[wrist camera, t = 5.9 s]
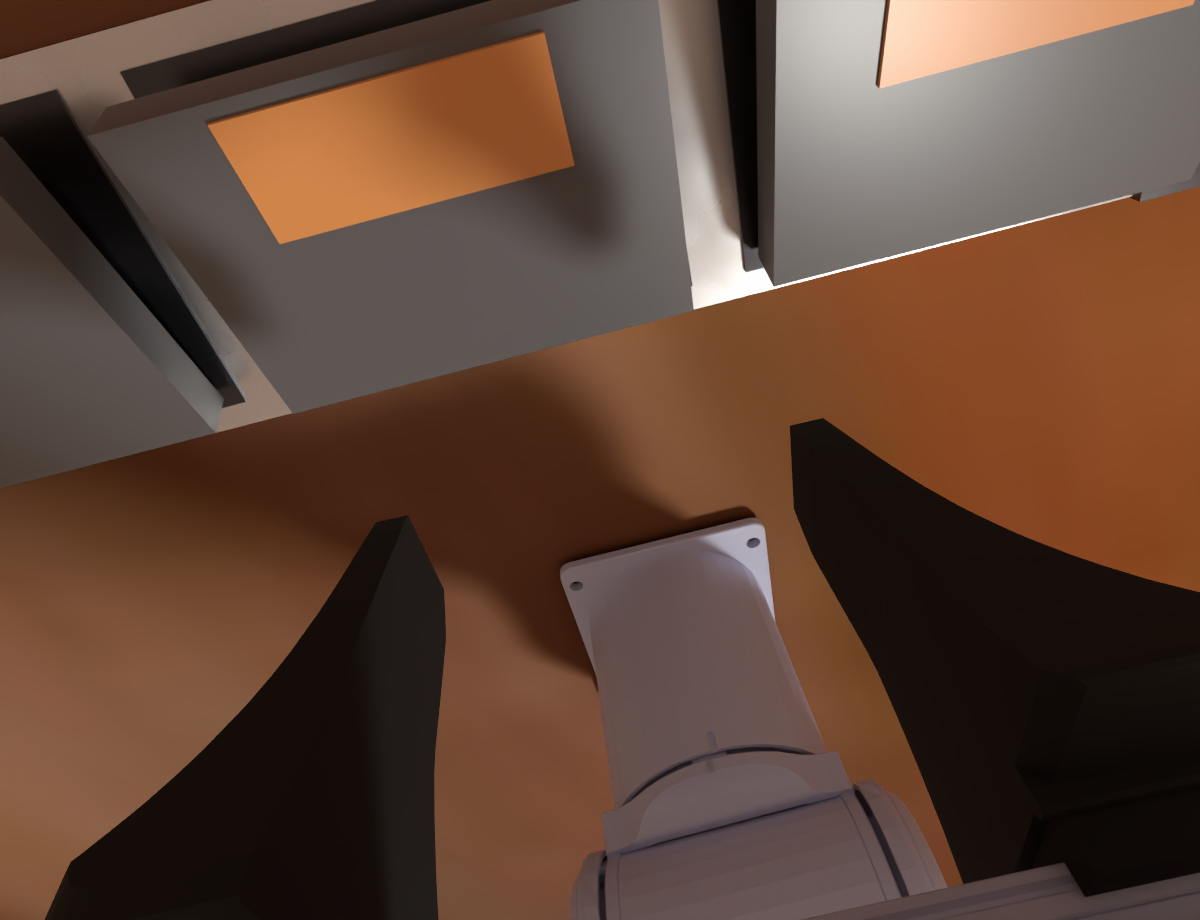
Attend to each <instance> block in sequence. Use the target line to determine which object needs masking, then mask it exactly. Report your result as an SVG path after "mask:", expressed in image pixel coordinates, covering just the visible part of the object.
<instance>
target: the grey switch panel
mask: <svg viewBox="0 0 1200 920" xmlns="http://www.w3.org/2000/svg"><path fill="white" fill-rule="evenodd" d="M487 1H491V0H210V1H206V2H203V3H199V4H196V5H192V6H188V7H185V8H181V9H178V10H174V11H171V12H167V13H163V14H160V15H156V16H153V17H149V18H146V19H142V20H139V21H135V22H131V23H128V24H124V25H121V26H117V27H114V28H110V29H107V30H103V31H99V32H96V33H92V34H89V35H85V36H82V37H78V38H74V39H71V40H67V41H64V42H60V43H57V44H53V45H50V46H46V47H42V48H39V49H35V50H32V51H28V52H25V53H21V54H17V55H14V56H10V57H7V58H3V59H0V137H3V138H4V140H5V141H6V142H7V143H8V144H9V145H10V147H11V148H12V149H13V150H14V151H15V153H16V154H17V155H18V156H19V157H20V158H21V160H22V161H23V162H24V163H25V164H26V166H27V167H28V168H29V169H30V170H31V171H32V173H33V174H34V175H35V176H36V177H37V179H38V180H39V181H40V182H41V183H42V184H43V186H44V187H45V188H46V189H47V190H48V192H49V193H50V194H51V195H52V196H53V197H54V199H55V200H56V201H57V202H58V203H59V205H60V206H61V207H62V208H63V209H64V210H65V212H66V213H67V214H68V215H69V216H70V218H71V219H72V220H73V221H74V222H75V223H76V225H77V226H78V227H79V228H80V229H81V231H82V232H83V233H84V234H85V235H86V236H87V238H88V239H89V240H90V241H91V242H92V244H93V245H94V246H95V247H96V248H97V249H98V251H99V252H100V253H101V254H102V255H103V257H104V258H105V259H106V260H107V261H108V262H109V264H110V265H111V266H112V267H113V268H114V269H115V271H116V272H117V273H118V274H119V275H120V277H121V278H122V279H123V280H124V281H125V282H126V284H127V285H128V286H129V287H130V288H131V290H132V291H133V292H134V293H135V294H136V295H137V297H138V298H139V299H140V300H141V301H142V303H143V304H144V305H145V306H146V307H147V308H148V310H149V311H150V312H151V313H152V314H153V316H154V317H155V318H156V319H157V320H158V321H159V323H160V324H161V325H162V326H163V327H164V329H165V330H166V331H167V332H168V333H169V334H170V336H171V337H172V338H173V339H174V340H175V342H176V343H177V344H178V345H179V346H180V347H181V349H182V350H183V351H184V352H185V353H186V355H187V356H188V357H189V358H190V359H191V360H192V362H193V363H194V364H195V365H196V366H197V368H198V369H199V370H200V371H201V372H202V373H203V375H204V376H205V377H206V378H207V379H208V381H209V382H210V383H211V384H212V385H213V386H214V388H215V389H216V390H217V391H218V392H219V394H220V395H221V396H222V397H223V398H224V401H223V406H222V410H221V414H220V418H219V422H218V426H217V430H216V433H217V432H221V431H225V430H229V429H233V428H236V427H240V426H244V425H248V424H252V423H256V422H260V421H264V420H267V419H271V418H275V417H279V416H283V415H287V414H291V413H292V412H291V410H290V409H289V408H288V406H287V405H286V404H285V402H284V401H283V400H282V398H281V397H280V395H279V394H278V393H277V391H276V390H275V389H274V387H273V386H272V385H271V383H270V382H269V381H268V379H267V378H266V377H265V375H264V374H263V373H262V371H261V370H260V369H259V367H258V366H257V365H256V363H255V362H254V360H253V359H252V358H251V356H250V355H249V354H248V352H247V351H246V350H245V348H244V347H243V346H242V344H241V343H240V342H239V340H238V339H237V338H236V336H235V335H234V334H233V332H232V331H231V330H230V328H229V327H228V325H227V324H226V323H225V321H224V320H223V319H222V317H221V316H220V315H219V313H218V312H217V311H216V309H215V308H214V307H213V305H212V304H211V303H210V301H209V300H208V299H207V297H206V296H205V295H204V293H203V292H202V290H201V289H200V288H199V286H198V285H197V284H196V282H195V281H194V280H193V278H192V277H191V276H190V274H189V273H188V272H187V270H186V269H185V268H184V266H183V265H182V264H181V262H180V261H179V260H178V258H177V257H176V255H175V254H174V253H173V251H172V250H171V249H170V247H169V246H168V245H167V243H166V242H165V241H164V239H163V238H162V237H161V235H160V234H159V233H158V231H157V230H156V229H155V227H154V226H153V225H152V223H151V222H150V220H149V219H148V218H147V216H146V215H145V214H144V212H143V211H142V210H141V208H140V207H139V206H138V204H137V203H136V202H135V200H134V199H133V198H132V196H131V195H130V194H129V192H128V191H127V189H126V188H125V187H124V185H123V184H122V183H121V181H120V180H119V179H118V177H117V176H116V175H115V173H114V172H113V171H112V169H111V168H110V167H109V165H108V164H107V163H106V161H105V160H104V159H103V157H102V156H101V154H100V153H99V152H98V150H97V149H96V148H95V146H94V145H93V144H92V142H91V141H90V140H89V138H88V137H87V136H88V134H89V133H90V131H91V130H92V128H93V127H94V125H95V124H96V122H97V121H98V119H99V118H100V116H101V115H102V113H103V112H104V110H105V109H106V107H108V106H111V105H115V104H119V103H122V102H126V101H130V100H133V99H137V98H140V97H144V96H148V95H151V94H155V93H158V92H162V91H166V90H169V89H173V88H177V87H180V86H184V85H187V84H191V83H195V82H198V81H202V80H205V79H209V78H213V77H216V76H220V75H223V74H227V73H231V72H234V71H238V70H242V69H245V68H249V67H252V66H256V65H260V64H263V63H267V62H270V61H274V60H278V59H281V58H285V57H289V56H292V55H296V54H299V53H303V52H307V51H310V50H314V49H317V48H321V47H325V46H328V45H332V44H335V43H339V42H343V41H346V40H350V39H354V38H357V37H361V36H364V35H368V34H372V33H375V32H379V31H382V30H386V29H390V28H393V27H397V26H401V25H404V24H408V23H411V22H415V21H419V20H422V19H426V18H429V17H433V16H437V15H440V14H444V13H448V12H451V11H455V10H458V9H462V8H466V7H469V6H473V5H476V4H480V3H484V2H487ZM658 3H659V11H660V20H661V29H662V37H663V46H664V55H665V64H666V72H667V81H668V90H669V98H670V107H671V116H672V125H673V133H674V142H675V151H676V159H677V168H678V177H679V186H680V194H681V203H682V212H683V220H684V229H685V238H686V247H687V255H688V264H689V273H690V281H691V290H692V299H693V308H694V309H697V308H701V307H705V306H709V305H713V304H717V303H721V302H725V301H728V300H732V299H736V298H740V297H744V296H748V295H752V294H756V293H759V292H763V291H767V290H771V289H775V288H779V287H783V286H787V285H790V284H794V283H798V282H802V281H806V280H810V279H814V278H818V277H821V276H825V275H829V274H833V273H837V272H841V271H845V270H849V269H852V268H856V267H860V266H864V265H868V264H872V263H876V262H880V261H883V260H887V259H891V258H895V257H899V256H903V255H907V254H911V253H914V252H918V251H922V250H926V249H930V248H934V247H938V246H941V245H945V244H949V243H953V242H957V241H961V240H965V239H969V238H972V237H976V236H980V235H984V234H988V233H992V232H996V231H1000V230H1003V229H1007V228H1011V227H1015V226H1019V225H1023V224H1027V223H1031V222H1034V221H1038V220H1042V219H1046V218H1050V217H1054V216H1058V215H1062V214H1065V213H1069V212H1073V211H1077V210H1081V209H1085V208H1089V207H1093V206H1096V205H1100V204H1104V203H1108V202H1112V201H1116V200H1120V199H1124V198H1127V197H1130V198H1132V199H1135V200H1137V201H1139V202H1141V201H1145V200H1148V199H1152V198H1156V197H1160V196H1164V195H1168V194H1172V193H1176V192H1179V191H1183V190H1187V189H1191V188H1195V187H1199V186H1200V162H1199V164H1198V166H1197V168H1196V170H1195V172H1194V174H1193V176H1192V178H1191V179H1190V180H1186V181H1182V182H1178V183H1174V184H1170V185H1166V186H1162V187H1159V188H1155V189H1151V190H1147V191H1143V192H1139V193H1135V194H1131V195H1128V196H1124V197H1120V198H1116V199H1112V200H1108V201H1104V202H1100V203H1097V204H1093V205H1089V206H1085V207H1081V208H1077V209H1073V210H1069V211H1066V212H1062V213H1058V214H1054V215H1050V216H1046V217H1042V218H1038V219H1035V220H1031V221H1027V222H1023V223H1019V224H1015V225H1011V226H1008V227H1004V228H1000V229H996V230H992V231H988V232H984V233H980V234H977V235H973V236H969V237H965V238H961V239H957V240H953V241H949V242H946V243H942V244H938V245H934V246H930V247H926V248H922V249H918V250H915V251H911V252H907V253H903V254H899V255H895V256H891V257H887V258H884V259H880V260H876V261H872V262H868V263H864V264H860V265H856V266H853V267H849V268H845V269H841V270H837V271H833V272H829V273H826V274H822V275H818V276H814V277H810V278H806V279H802V280H798V281H795V282H791V283H787V284H783V285H779V286H775V287H773V285H772V283H771V281H770V279H769V277H768V275H767V273H766V271H765V269H764V267H763V265H762V263H761V261H760V259H759V257H758V169H757V70H756V0H658Z"/></svg>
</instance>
